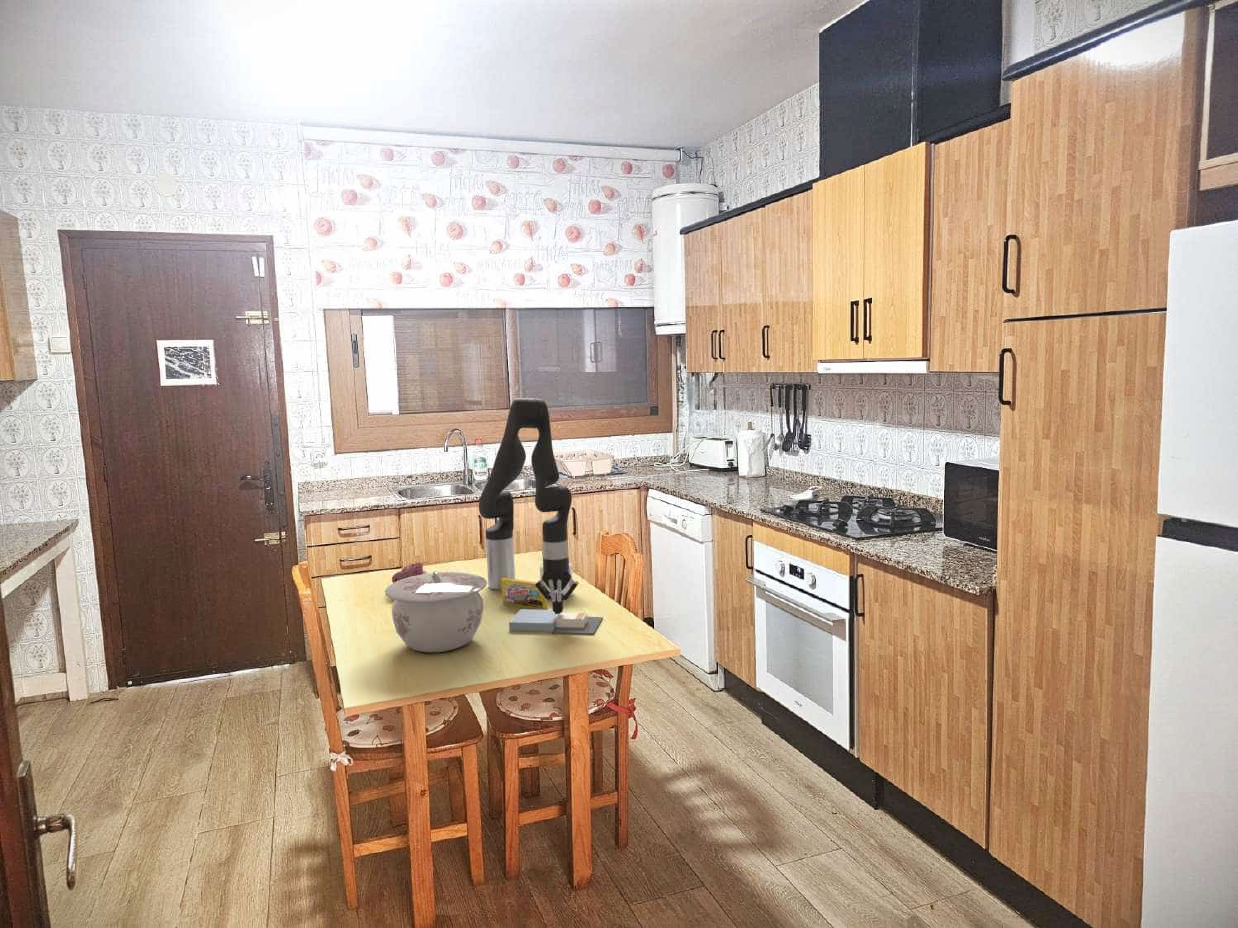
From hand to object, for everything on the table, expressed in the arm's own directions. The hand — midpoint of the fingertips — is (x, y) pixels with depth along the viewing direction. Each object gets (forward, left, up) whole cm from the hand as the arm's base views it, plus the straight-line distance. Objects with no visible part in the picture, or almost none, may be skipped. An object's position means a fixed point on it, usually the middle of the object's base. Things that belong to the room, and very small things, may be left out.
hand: (558, 613), depth 236 cm
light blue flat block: (0, -7, -4) cm, 8 cm away
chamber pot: (+18, -29, -4) cm, 34 cm away
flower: (-29, -57, -4) cm, 64 cm away
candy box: (-17, -15, -4) cm, 23 cm away
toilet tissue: (-30, -8, -4) cm, 31 cm away
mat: (0, +6, -4) cm, 7 cm away
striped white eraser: (0, +4, -3) cm, 5 cm away
